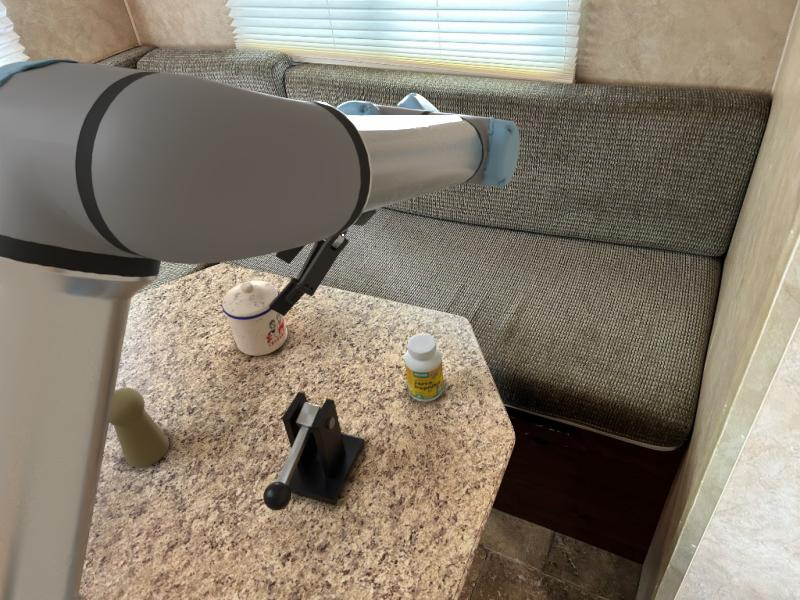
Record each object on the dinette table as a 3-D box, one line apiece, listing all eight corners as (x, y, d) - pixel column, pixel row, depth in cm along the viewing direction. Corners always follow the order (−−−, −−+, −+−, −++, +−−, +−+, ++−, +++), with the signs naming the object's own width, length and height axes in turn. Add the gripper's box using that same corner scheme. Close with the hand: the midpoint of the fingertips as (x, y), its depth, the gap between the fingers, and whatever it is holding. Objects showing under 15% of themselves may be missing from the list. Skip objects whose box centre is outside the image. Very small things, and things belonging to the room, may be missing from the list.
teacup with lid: (280, 358, 98) (265, 303, 91) (227, 357, 100) (208, 302, 92) (299, 310, 107) (286, 257, 100) (250, 309, 109) (234, 256, 101)
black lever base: (334, 506, 77) (319, 448, 69) (279, 490, 79) (259, 432, 72) (365, 444, 84) (354, 386, 76) (313, 431, 86) (297, 373, 79)
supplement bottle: (438, 373, 93) (435, 326, 87) (448, 398, 89) (445, 351, 83) (404, 380, 92) (399, 334, 86) (412, 406, 88) (407, 360, 82)
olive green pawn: (151, 471, 83) (122, 419, 76) (116, 462, 85) (84, 410, 78) (177, 437, 87) (151, 385, 80) (143, 428, 89) (114, 376, 82)
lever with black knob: (288, 517, 70) (279, 508, 67) (264, 510, 71) (254, 501, 68) (329, 416, 77) (323, 405, 74) (307, 411, 78) (299, 399, 75)
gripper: (387, 251, 80) (295, 346, 89) (376, 165, 99) (302, 251, 109) (341, 221, 77) (251, 324, 86) (339, 138, 96) (266, 229, 105)
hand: (279, 283), depth 97 cm, fingers open, 13 cm apart
